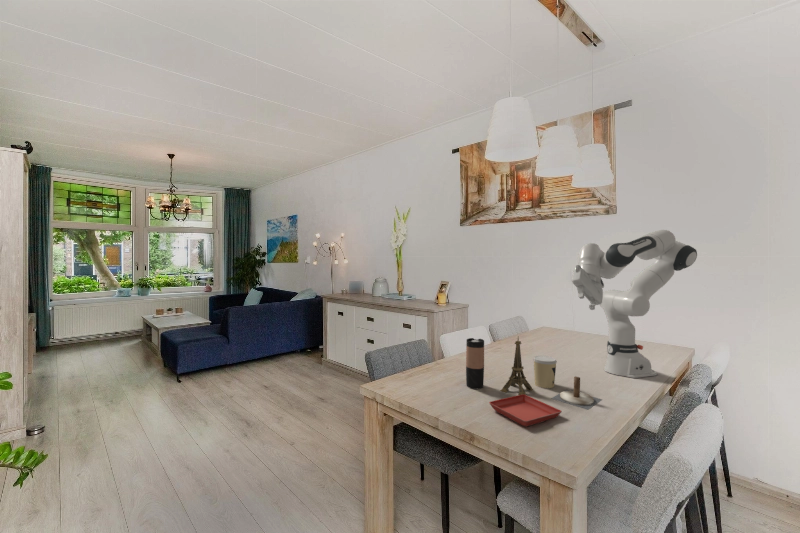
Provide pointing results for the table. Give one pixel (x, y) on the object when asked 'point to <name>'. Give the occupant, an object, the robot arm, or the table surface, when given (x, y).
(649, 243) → the robot arm
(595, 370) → the table surface
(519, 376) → the eiffel tower
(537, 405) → the plant saucer
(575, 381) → the lid
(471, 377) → the travel mug
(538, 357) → the coffee cup
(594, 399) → the mat
